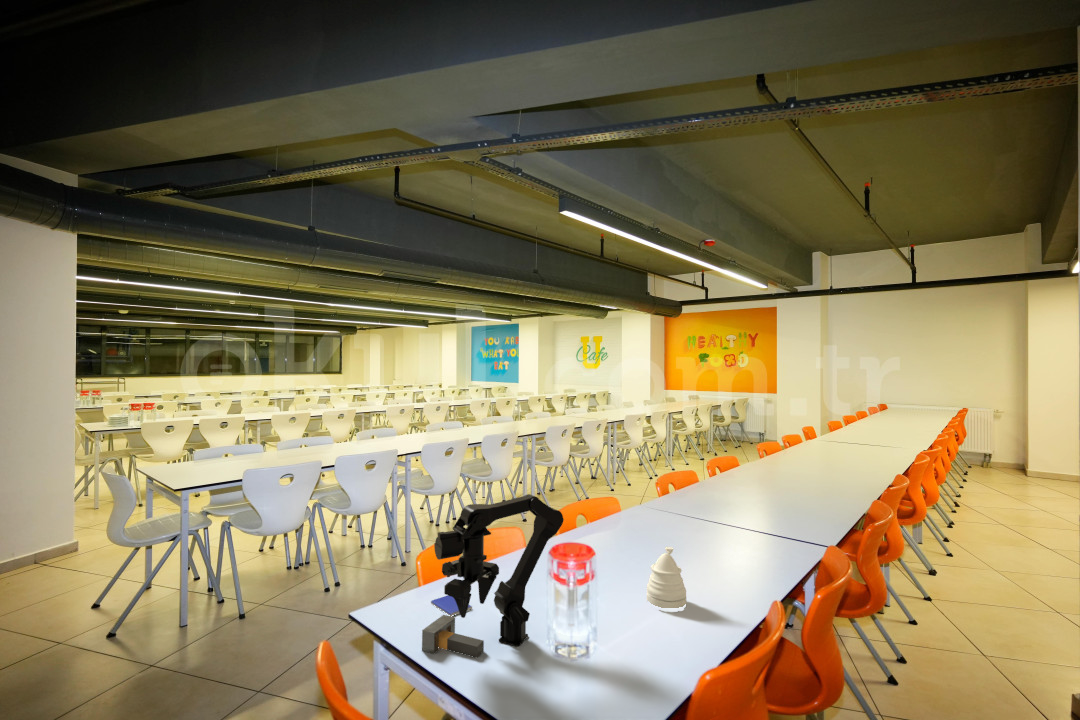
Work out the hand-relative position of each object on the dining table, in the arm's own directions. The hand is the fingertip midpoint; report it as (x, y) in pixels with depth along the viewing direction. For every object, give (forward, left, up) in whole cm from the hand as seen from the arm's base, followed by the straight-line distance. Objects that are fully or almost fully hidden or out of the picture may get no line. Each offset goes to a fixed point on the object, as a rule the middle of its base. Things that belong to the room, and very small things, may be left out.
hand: (472, 610), depth 137 cm
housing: (+11, +1, -11) cm, 15 cm away
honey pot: (-43, -52, -11) cm, 69 cm away
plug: (+4, +1, -11) cm, 12 cm away
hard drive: (+21, -20, -12) cm, 31 cm away
